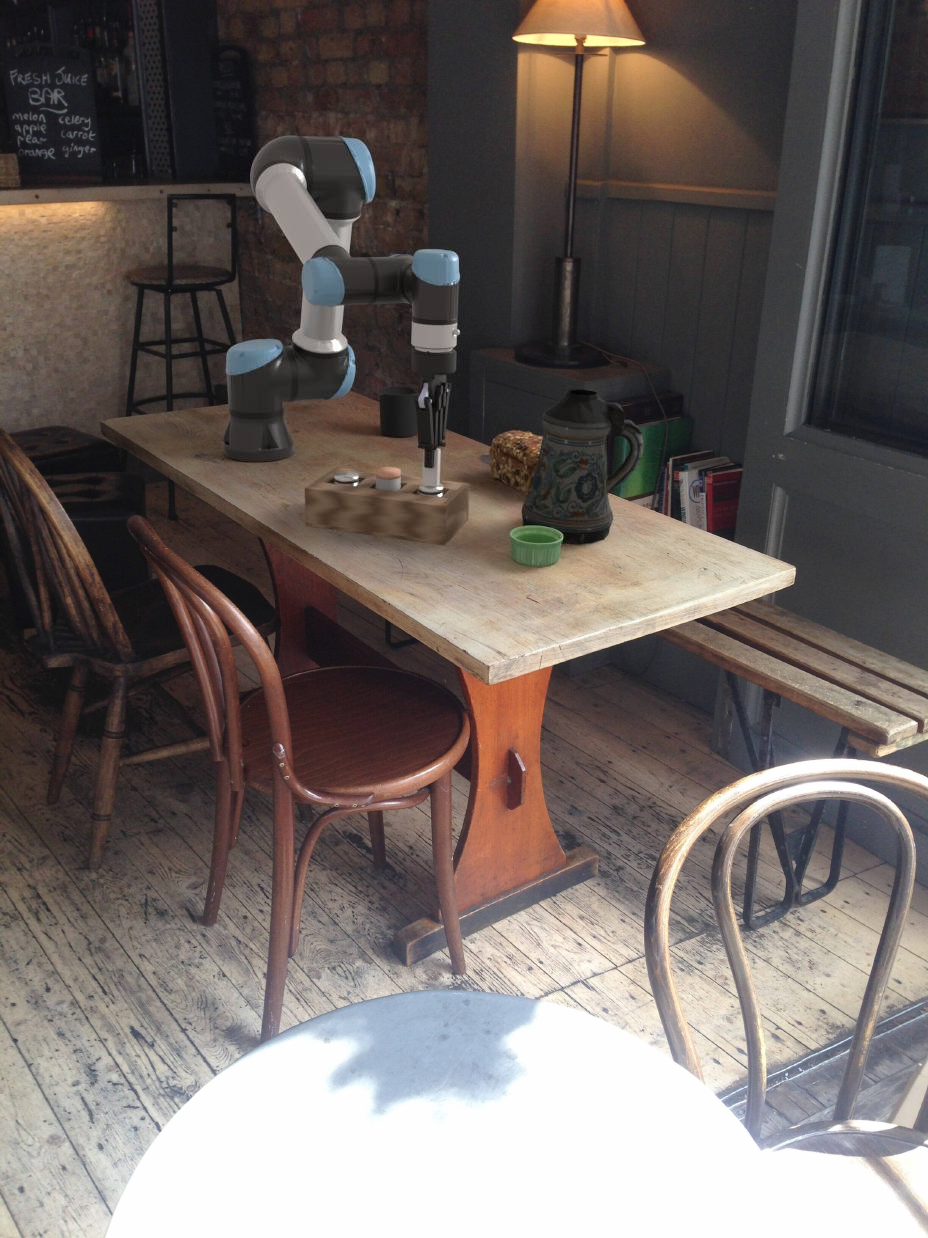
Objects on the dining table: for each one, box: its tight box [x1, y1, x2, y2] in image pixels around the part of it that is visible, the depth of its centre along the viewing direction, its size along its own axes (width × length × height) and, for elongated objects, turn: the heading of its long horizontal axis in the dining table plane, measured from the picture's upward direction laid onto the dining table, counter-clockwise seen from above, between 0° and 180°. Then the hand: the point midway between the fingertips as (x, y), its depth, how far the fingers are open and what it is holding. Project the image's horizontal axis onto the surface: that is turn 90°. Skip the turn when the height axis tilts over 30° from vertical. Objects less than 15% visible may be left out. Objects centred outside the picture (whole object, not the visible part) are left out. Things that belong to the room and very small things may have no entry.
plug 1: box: [334, 471, 359, 486], centre depth 197 cm, size 4×4×6 cm
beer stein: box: [520, 389, 644, 546], centre depth 193 cm, size 16×19×25 cm
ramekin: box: [508, 525, 563, 568], centre depth 183 cm, size 9×9×4 cm
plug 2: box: [418, 483, 444, 498], centre depth 193 cm, size 4×4×6 cm
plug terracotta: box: [375, 466, 402, 492], centre depth 195 cm, size 4×4×6 cm
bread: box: [489, 429, 543, 494], centre depth 219 cm, size 19×11×10 cm, turn 35°
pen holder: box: [378, 385, 420, 439], centre depth 253 cm, size 9×9×10 cm
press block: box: [304, 466, 471, 546], centre depth 196 cm, size 26×14×7 cm, turn 73°
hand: (431, 483), depth 192 cm, fingers closed
